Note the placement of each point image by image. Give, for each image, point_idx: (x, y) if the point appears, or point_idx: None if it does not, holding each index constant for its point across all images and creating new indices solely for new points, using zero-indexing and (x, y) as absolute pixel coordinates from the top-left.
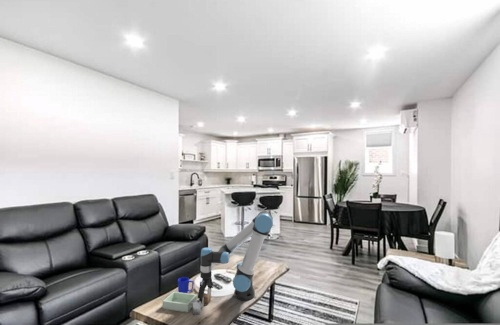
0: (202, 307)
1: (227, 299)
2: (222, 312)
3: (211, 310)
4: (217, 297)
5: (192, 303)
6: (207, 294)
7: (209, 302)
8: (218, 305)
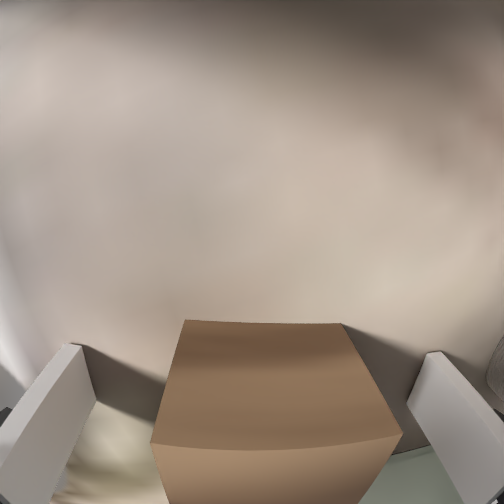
0: (439, 359)
1: (51, 11)
2: (496, 17)
3: (499, 188)
4: (13, 230)
5: (416, 485)
6: (212, 492)
7: (246, 324)
8: (334, 82)
